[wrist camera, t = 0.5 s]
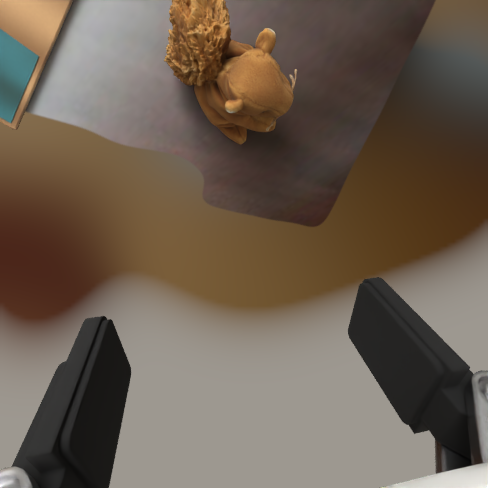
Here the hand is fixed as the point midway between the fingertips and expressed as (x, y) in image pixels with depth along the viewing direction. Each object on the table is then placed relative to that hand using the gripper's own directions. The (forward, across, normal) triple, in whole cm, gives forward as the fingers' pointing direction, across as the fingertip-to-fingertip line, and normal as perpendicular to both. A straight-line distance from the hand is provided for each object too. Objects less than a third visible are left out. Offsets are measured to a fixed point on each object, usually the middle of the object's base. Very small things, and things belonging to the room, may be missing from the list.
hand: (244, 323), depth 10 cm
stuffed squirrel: (+30, -3, -8) cm, 32 cm away
